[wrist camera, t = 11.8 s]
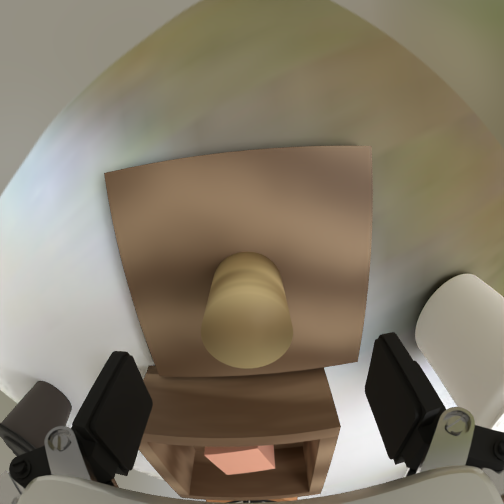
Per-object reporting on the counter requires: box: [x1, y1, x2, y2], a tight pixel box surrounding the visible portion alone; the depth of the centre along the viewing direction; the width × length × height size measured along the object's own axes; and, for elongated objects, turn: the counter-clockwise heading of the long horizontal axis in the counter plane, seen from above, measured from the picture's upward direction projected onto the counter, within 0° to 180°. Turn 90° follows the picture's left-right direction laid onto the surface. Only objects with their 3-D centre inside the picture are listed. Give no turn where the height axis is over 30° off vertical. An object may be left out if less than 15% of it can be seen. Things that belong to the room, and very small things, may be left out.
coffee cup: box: [0, 381, 72, 456], centre depth 19 cm, size 8×8×10 cm
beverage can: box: [415, 274, 504, 432], centre depth 14 cm, size 8×8×12 cm
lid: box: [104, 146, 373, 377], centre depth 15 cm, size 15×15×7 cm
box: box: [139, 366, 341, 501], centre depth 20 cm, size 14×14×7 cm
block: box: [204, 445, 275, 475], centre depth 20 cm, size 4×4×4 cm
